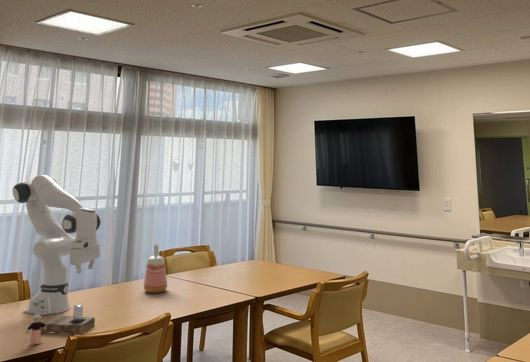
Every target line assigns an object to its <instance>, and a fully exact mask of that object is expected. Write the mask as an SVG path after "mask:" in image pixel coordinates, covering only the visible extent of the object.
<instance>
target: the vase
mask: <svg viewBox="0 0 530 362" xmlns="http://www.w3.org/2000/svg"><path fill="white" fill-rule="evenodd" d="M145 267H146V268H145V269H146V270H145V274H144V281H143V290H144V291H145V292H147V293H148V294H150V293H151V294H159V293H163V292H164V291H166V290H167V288H168V279H167V278H168V277H167V271H166V261H165V258H164V257H163V256H162V255H160V254H159V244H157V243H154V244H153V255H151V256H149V257H148V258H147V261H146V266H145Z"/></svg>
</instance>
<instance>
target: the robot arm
mask: <svg viewBox="0 0 530 362" xmlns="http://www.w3.org/2000/svg"><path fill="white" fill-rule="evenodd" d="M12 196H13V198H14V200H15V201H16V202H17V203H18V204H19V203H21V204H24V203H26V205H25V207H26V212H27V214H28V216H29V220H30V221H31V223H32V226H33V228H34V230H35V232H36V233H37V235H40V236H42V237H44V239H41V240H38V241H37V242H35V243H34V245H33V247H32V248H33V249H32V252H33V255H34V257H35V258H36V259H38V260H39V261H40V262H41V264H42V267H43V272H44V273H43V277H44V279H43V280H44V281H43V282H44V283H42V285H39V289H40V291H39V292H38V293H37V294H34V296H32V297H31V298H30V299H29V301H28V306H27V307H25V308H24V309H23V310H22V311H23V313H28V314H34V315H35V314H39V315H40V316H41V315H42V316H47V315H52V314H60V313H63V312H66V311H68V310H71V306H70V303H69V296H68V293H69V282H68V271H69V270H68V267H67V266H66V265H64V264H63V263H62V260H61V259H62V258H61V257H65V256H69V264H70V265H71V266H75V268H76V273H77V274H82V273H83V268H82V264H84V263H88V262H89V263H88V265H87V270H92V269H93V268H94V264H95V261H96V259H99V258H100V255H101V253H100V244H99V241H98V240H97V230H99V229H100V226H101V224H102V223H101V222H102V221H101V218H100V216H99V215H98V213H97V211H96V210H95V208H91V207H87V206H85V205H84V203H82V202H81V200H79V199H77V198H76V197H75V196H74V195H72V194H71V193H68V192H67V191H66V190H64V189H63V188H62V187H60V185H59V184H58V182H57V180H56V179H55V178H54V177H52V176H48V175H46V174H38V175H36V176H35V177H34V178H32V179H30V180H27V181H24V182H19V183H17V184H15V185H13V188H12ZM51 208H58V209H64V210H69V211H71V212H72V213H69V214H66V215H65V216H64V217H63V219H62V221H61V225H60V224H59V222H58V220H57V218H56V216H55V215H54V213H53V211H52V209H51ZM72 234H76V237H75V236H73V235H72Z"/></svg>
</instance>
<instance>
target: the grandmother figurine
mask: <svg viewBox="0 0 530 362" xmlns="http://www.w3.org/2000/svg"><path fill="white" fill-rule="evenodd" d="M40 320H42V316H41V315H40V314H34V315H33V316H32V321H33V322H32V323H31V324H29V326H28V327H27V329H26V331H25V334H29V332H30V339H29V340H30V341H29V342H30V343H29V345H34V346H35V345H36V344H38V343H41V337H42V336H41V335H42V332H41V329H40V327H43V328H44V330H46V329H47V328H46V326H45V324H44V323H42V322H43V321H40ZM41 344H42V343H41Z"/></svg>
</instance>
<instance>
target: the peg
mask: <svg viewBox="0 0 530 362" xmlns="http://www.w3.org/2000/svg"><path fill="white" fill-rule="evenodd" d="M72 310H73V312H72V313H73V323H81V322H83V317H84V315H83V314H84V305H83V304H75V305H73V309H72Z"/></svg>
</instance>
